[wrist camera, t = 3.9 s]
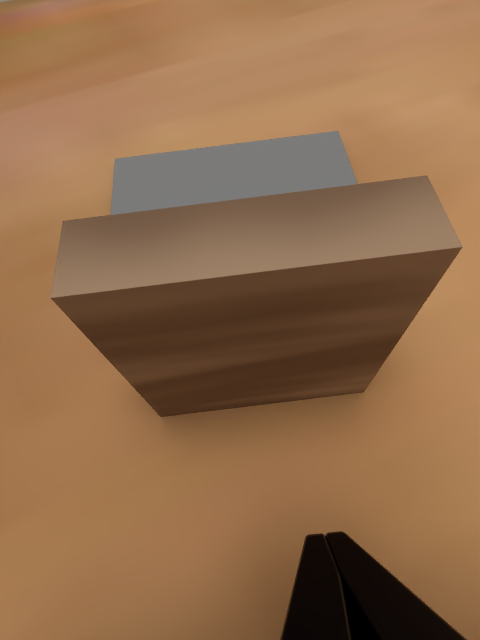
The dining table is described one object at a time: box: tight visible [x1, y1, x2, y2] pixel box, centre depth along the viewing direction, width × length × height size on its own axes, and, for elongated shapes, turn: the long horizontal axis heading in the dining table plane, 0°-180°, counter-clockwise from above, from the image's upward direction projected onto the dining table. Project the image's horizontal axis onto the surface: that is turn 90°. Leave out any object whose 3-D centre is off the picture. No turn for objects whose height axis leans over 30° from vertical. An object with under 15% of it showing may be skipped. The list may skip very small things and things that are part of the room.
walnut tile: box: [51, 176, 462, 417], centre depth 15 cm, size 3×10×11 cm, turn 96°
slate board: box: [111, 131, 357, 215], centre depth 24 cm, size 15×16×1 cm
